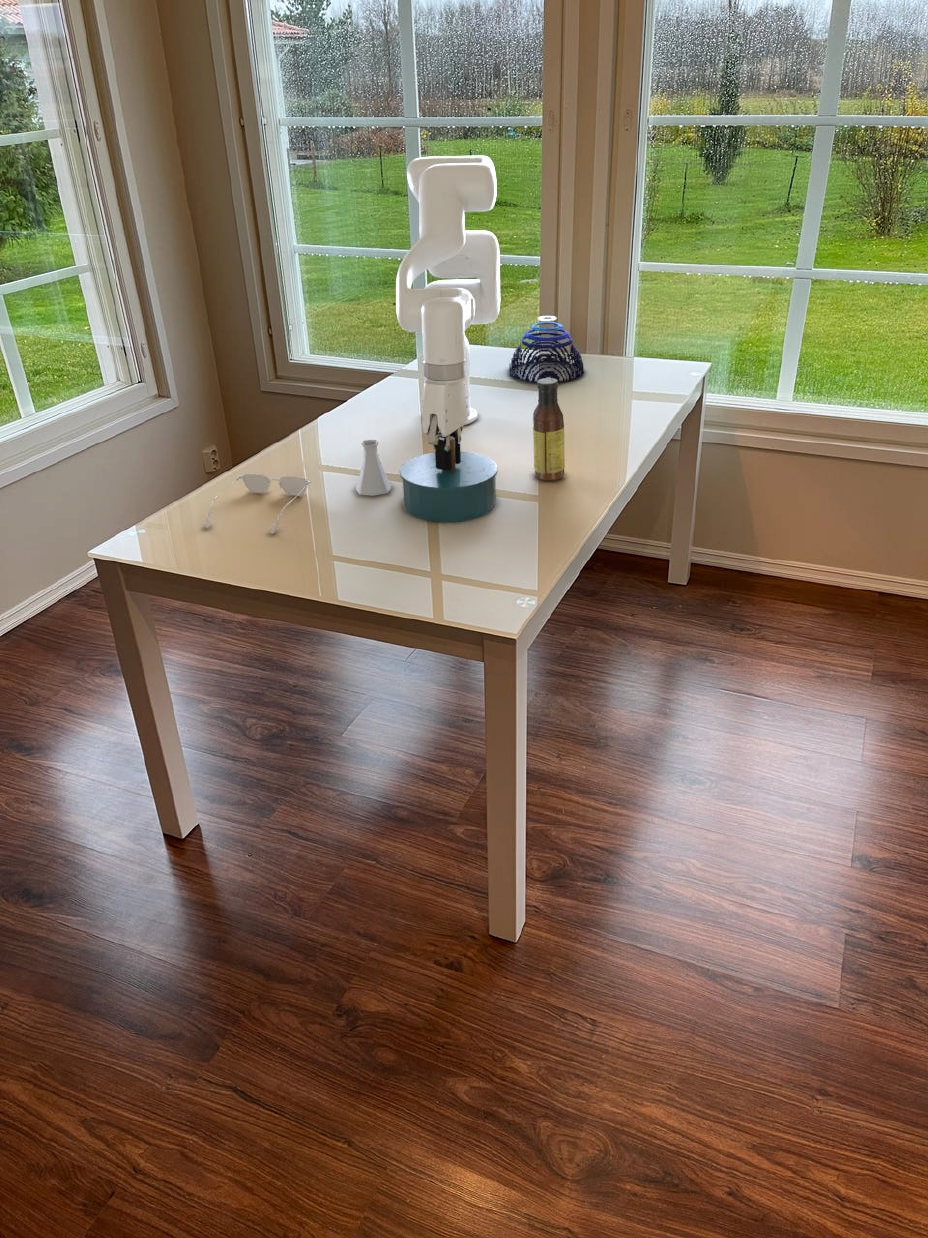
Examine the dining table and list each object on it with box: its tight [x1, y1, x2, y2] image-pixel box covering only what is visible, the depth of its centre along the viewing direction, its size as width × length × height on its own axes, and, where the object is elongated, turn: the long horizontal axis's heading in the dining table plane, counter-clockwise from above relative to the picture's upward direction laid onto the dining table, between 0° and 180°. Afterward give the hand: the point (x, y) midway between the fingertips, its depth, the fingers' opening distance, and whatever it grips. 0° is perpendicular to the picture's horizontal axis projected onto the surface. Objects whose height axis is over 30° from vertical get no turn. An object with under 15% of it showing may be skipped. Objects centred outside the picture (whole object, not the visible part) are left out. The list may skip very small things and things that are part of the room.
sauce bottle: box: [532, 377, 566, 482], centre depth 189 cm, size 7×6×20 cm
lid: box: [399, 436, 498, 491], centre depth 179 cm, size 19×19×7 cm
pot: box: [402, 476, 497, 523], centre depth 182 cm, size 18×18×6 cm
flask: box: [355, 439, 392, 497], centre depth 188 cm, size 7×7×10 cm
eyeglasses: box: [205, 472, 312, 534], centre depth 182 cm, size 15×18×4 cm
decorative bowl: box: [508, 315, 585, 384], centre depth 253 cm, size 20×20×14 cm
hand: (448, 465), depth 180 cm, fingers closed on lid, 2 cm apart
